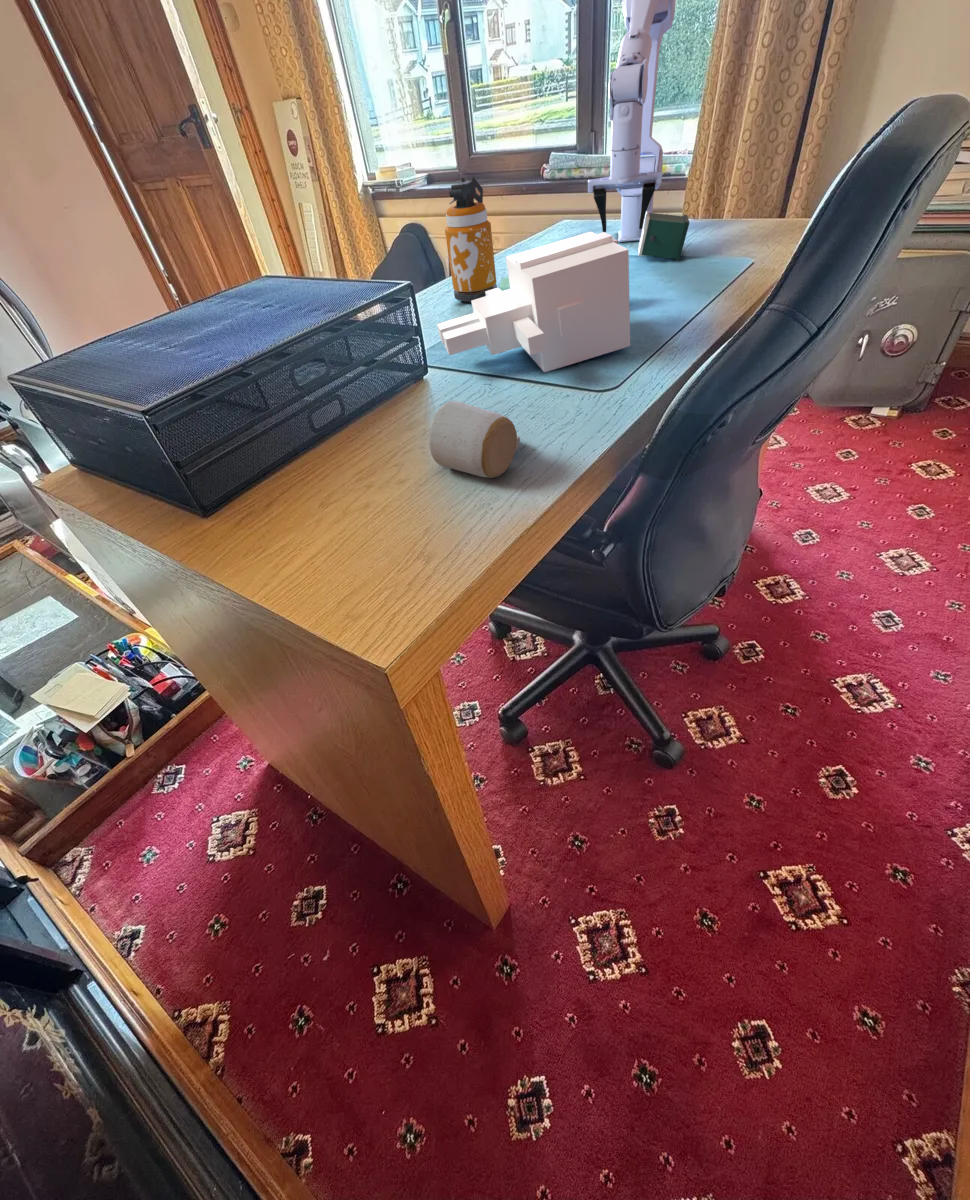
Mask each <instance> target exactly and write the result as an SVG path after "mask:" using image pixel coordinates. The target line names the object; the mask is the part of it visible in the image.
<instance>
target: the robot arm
mask: <svg viewBox="0 0 970 1200" xmlns="http://www.w3.org/2000/svg"><path fill="white" fill-rule="evenodd" d="M621 1H622V3H621V4H622V5H621V6H622V15H623V18H624V27H625V29H626V33H625V34H624V36H623V38H622V39H621V43H620V46H619V47H620V48H619V51H618V58H617V62H616V67H615V69H614V71H611V72H610V75H609V80H608V81H609V82H608V104H609V121H611V126H610V127H611V130H610V131H611V132H610V170H609V171H610V172H609V176H605V177H598V178H592V179H588V180H587V193H588V194H591V193H593V196H592V197H593V200H594V202H595V205H596V207H597V209H598V215H599V217H600V222H601V230H602V232H606V233H607V192H608V191H611V190H616V191H617V193H620V194H619V195H620V196H621V205H620V206H621V207H620V208H621V209H620V213H621V214H620V230H619V231H618V239H617V240H618V243H625V242H634V241H635V242H636V241H640V238H641V233H642V229H643V224H644V219H645V215H646V211H649V213H654V212H653V210H654V196H655V191H656V190H658V189H659V188H660V186H661V185H662V184H663V183H662V181H663V165H664V164H663V163H664V161H663V155H664V151H663V147H662V145H661V143H659V142H658V141H657V140H656V139H655V138H653V127H654V125H653V124H654V115H655V103H656V94H657V93H656V92H657V82H658V72H659V71H658V70H659V67H658V66H659V57H660V50H661V46H662V42H663V37H664V34H666V33H667V32H668V31H669V30H670V29H671V28H672V27H673V22H674V20H675V12H676V2H677V0H621Z"/></svg>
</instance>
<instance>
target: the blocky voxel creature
mask: <svg viewBox="0 0 970 1200" xmlns="http://www.w3.org/2000/svg"><path fill="white" fill-rule="evenodd" d="M629 256H630V254H629V249H628V248H626V247H624V246H623V245H620V244H619V242H618V239H616V238H614V237H613V235H612V234H610V233H608V232H607V231H606V232H603V231H602V232H599V233H595V232H593V231H588V232H584V233H580V234H578V235H577V234H576V235H573V236H571V237H567V238H564V239H560V240H556V241H554V242H550V243H547V244H544V245H540V246H537V247H533V248H531V249H527V250H523V251H520V252H517V253H513V254H510V255H507V256H505V262H506V270H507V276H509V283H510V289H508V290H505V291H501V290H500V287H497V288H495V289H491V290H488V291H485V293H486V296H485V297H481V298H478V299H475V300H471V302H472V303H471V306H472V307H471V308H472V311H473V312H471V313H468V314H465V315H461V316H458V317H454V318H452V319H448V320H445V321H442V322H439V323H436V327H437V331H438V335H439V338H440V341H441V344H442V345H443V346H444V347H445V350H446V352H447V353H448V355H449V356H452V355H456V354H459V353H463V352H465V351H469V350H472V349H476V348H479V347H482V346H485V348H486V349H487V351H488V352H489V353H490V355H491V356H495V355H498V354H502V353H505V352H508V351H512V350H515V349H518V348H522V349H524V351H525V352H526V353H527V354H528V356H529V357H530V358H531V359H532V360H533V361H534V362H535V364H536V365H537V366H538V367H539V368H540V369H541V371H542V372H543V373H547V372H551V371H554V370H557V369H560V368H564V367H566V366H570V365H573V364H576V363H580V362H583V361H587V360H589V359H593V358H596V357H599V356H602V355H606V354H609V353H612V352H615V351H618V350H619V351H620V350H622V349H625V348H629V347H631V316H630V315H631V312H630V311H631V309H630V308H631V307H630V305H631V304H630V262H629V261H630V259H629V258H630V257H629Z"/></svg>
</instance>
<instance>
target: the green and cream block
mask: <svg viewBox="0 0 970 1200" xmlns="http://www.w3.org/2000/svg"><path fill="white" fill-rule="evenodd" d="M689 226H690V219H689V216H688V214H683V215H674V214H667V213H666V214H664V213H654V212H652V213H649V211H646V215H645V219H644V224H643V229H642V233H641V238H640V240H639V243H638V247H637V248H638V251H637V252H638V253H637V254H638V257H641V258H642V256H647V257H654V258H655V257H657V258H664V259H674V260H675V261H676V262H679V261H681V258H682V257H681V256H682V253H683V250H684V245H685V241H686V238H687V233H688V230H689Z"/></svg>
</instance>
